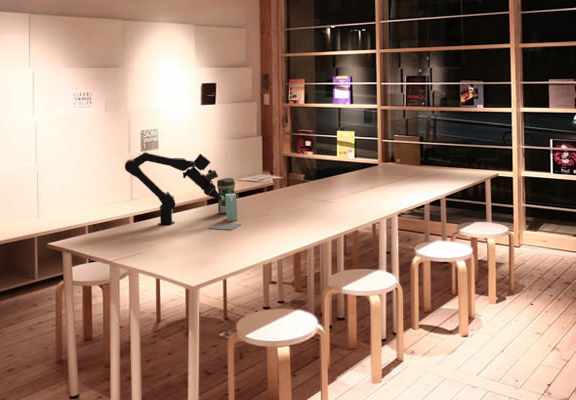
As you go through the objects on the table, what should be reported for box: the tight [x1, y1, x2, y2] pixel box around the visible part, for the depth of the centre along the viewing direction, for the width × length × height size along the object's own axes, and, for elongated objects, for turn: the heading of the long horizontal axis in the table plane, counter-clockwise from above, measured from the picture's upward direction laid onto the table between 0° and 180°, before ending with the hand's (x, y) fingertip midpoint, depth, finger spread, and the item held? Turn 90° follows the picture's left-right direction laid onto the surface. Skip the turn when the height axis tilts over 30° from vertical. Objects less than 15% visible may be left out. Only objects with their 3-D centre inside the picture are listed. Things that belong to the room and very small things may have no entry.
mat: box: [208, 222, 242, 231], centre depth 343 cm, size 12×12×1 cm
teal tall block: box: [225, 193, 238, 222], centre depth 359 cm, size 5×5×13 cm
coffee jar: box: [216, 177, 236, 215], centre depth 377 cm, size 10×8×19 cm
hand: (220, 197), depth 357 cm, fingers open, 9 cm apart
